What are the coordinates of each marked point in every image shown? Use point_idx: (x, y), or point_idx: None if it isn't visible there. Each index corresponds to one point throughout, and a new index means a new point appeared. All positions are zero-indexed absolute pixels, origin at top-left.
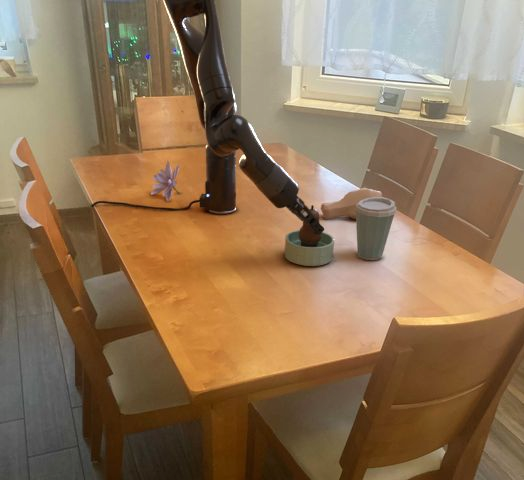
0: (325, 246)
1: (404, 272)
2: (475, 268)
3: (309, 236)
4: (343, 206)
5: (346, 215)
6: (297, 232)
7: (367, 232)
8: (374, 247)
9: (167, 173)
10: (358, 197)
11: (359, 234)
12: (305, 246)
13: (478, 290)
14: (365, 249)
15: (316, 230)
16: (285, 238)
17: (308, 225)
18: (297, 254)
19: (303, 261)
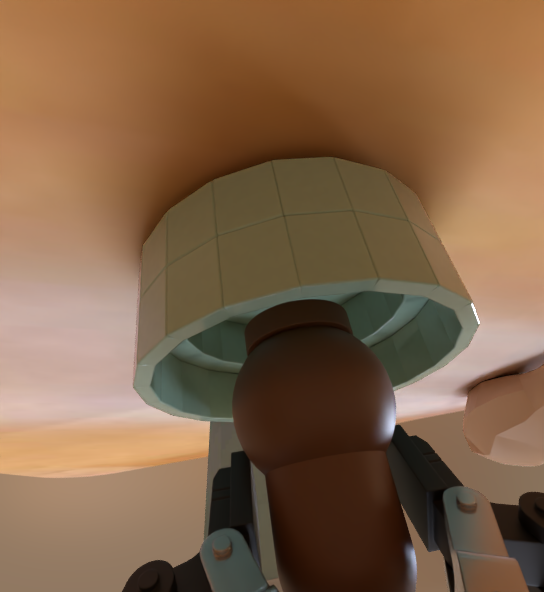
0: (167, 412)
1: (131, 421)
2: (163, 458)
3: (240, 422)
4: None
5: (526, 377)
6: (454, 330)
7: None
8: (209, 442)
9: None
10: (535, 440)
11: (252, 466)
12: (262, 328)
13: (53, 464)
14: (221, 422)
15: (211, 499)
16: (380, 278)
17: (212, 551)
18: (165, 271)
19: (146, 261)
